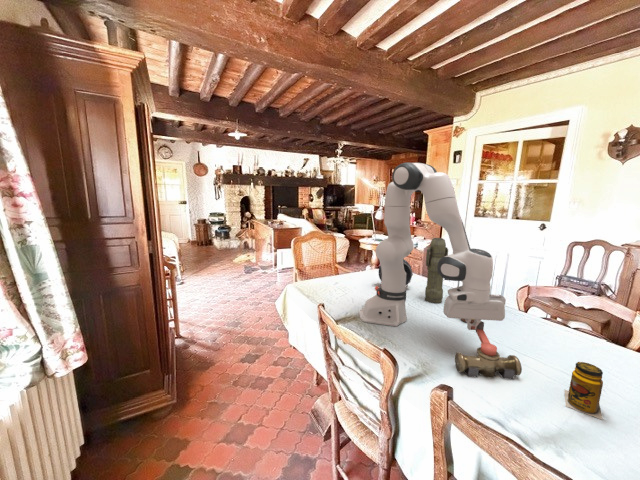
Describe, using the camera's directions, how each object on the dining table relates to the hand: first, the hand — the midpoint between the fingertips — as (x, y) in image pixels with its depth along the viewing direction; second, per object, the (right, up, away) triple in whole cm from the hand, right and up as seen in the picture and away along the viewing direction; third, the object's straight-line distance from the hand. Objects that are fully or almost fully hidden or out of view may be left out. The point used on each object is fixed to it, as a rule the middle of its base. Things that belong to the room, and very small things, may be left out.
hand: (471, 329), depth 99 cm
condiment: (+18, -13, -24) cm, 33 cm away
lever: (+1, -2, -6) cm, 7 cm away
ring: (-10, +3, +68) cm, 69 cm away
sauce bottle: (+13, -5, +26) cm, 29 cm away
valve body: (-1, -11, -11) cm, 15 cm away
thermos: (+7, -1, +49) cm, 50 cm away
